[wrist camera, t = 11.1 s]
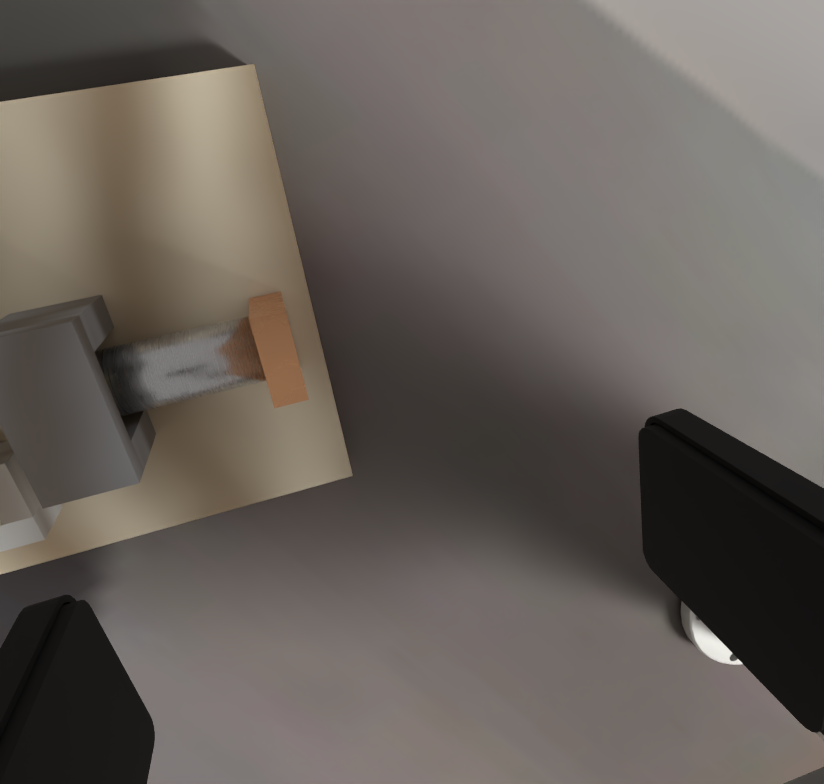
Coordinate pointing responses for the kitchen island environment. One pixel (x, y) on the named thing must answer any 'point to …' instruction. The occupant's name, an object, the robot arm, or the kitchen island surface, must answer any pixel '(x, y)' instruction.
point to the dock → (144, 311)
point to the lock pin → (208, 361)
